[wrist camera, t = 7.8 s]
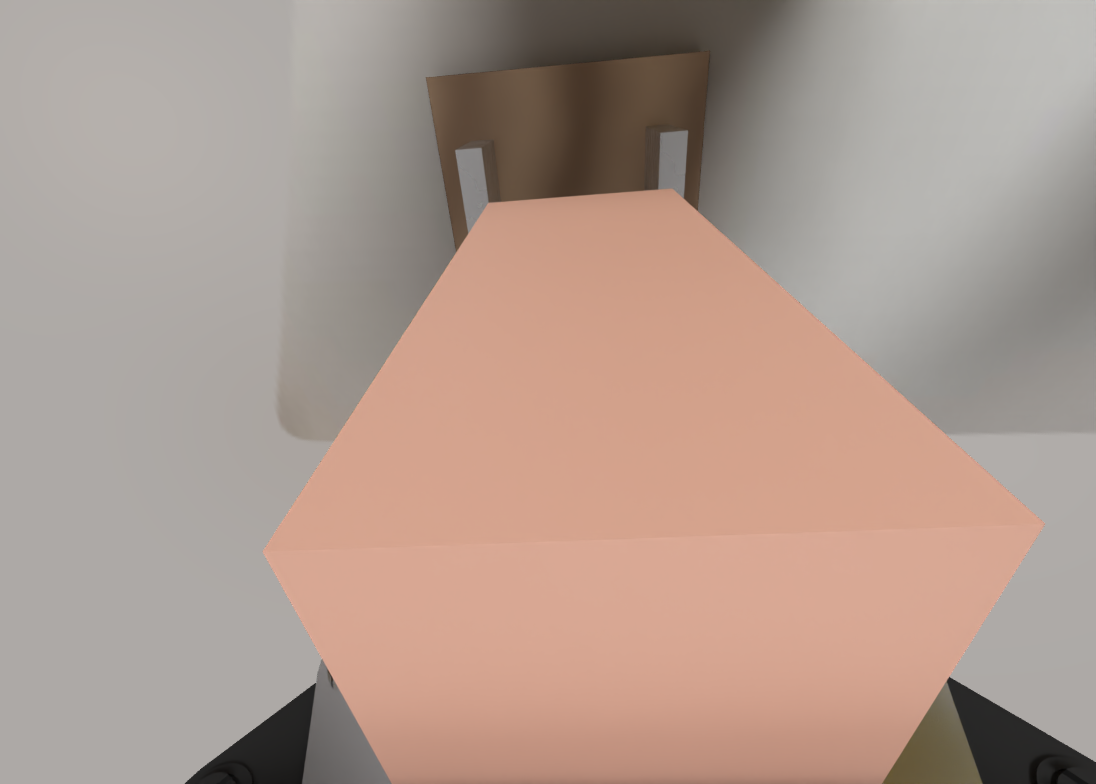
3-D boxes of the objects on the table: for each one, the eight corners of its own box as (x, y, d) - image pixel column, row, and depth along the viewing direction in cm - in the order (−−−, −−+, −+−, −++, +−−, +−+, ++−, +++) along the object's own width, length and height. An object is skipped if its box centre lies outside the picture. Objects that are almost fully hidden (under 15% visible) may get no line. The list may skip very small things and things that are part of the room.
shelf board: (702, 52, 25) (710, 50, 24) (680, 363, 34) (684, 374, 33) (432, 78, 26) (425, 77, 25) (482, 374, 35) (479, 385, 34)
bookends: (669, 124, 26) (688, 130, 22) (659, 335, 32) (673, 369, 28) (470, 141, 26) (455, 150, 22) (499, 344, 32) (491, 379, 29)
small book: (672, 188, 13) (1045, 524, 3) (657, 492, 19) (768, 964, 9) (488, 202, 14) (262, 551, 3) (527, 498, 19) (489, 960, 9)
